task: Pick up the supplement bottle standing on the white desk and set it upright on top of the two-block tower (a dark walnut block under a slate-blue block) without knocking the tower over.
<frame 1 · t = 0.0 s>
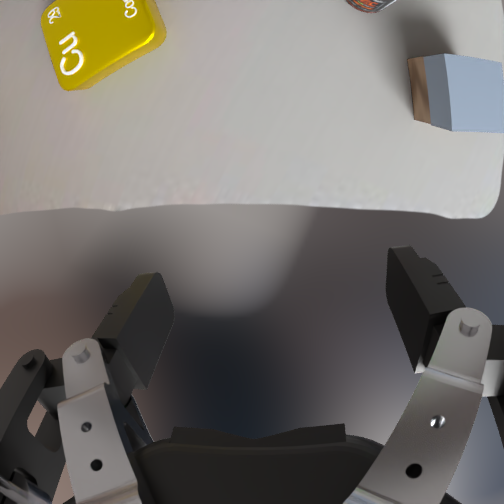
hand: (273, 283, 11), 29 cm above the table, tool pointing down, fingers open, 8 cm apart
tower base block: (437, 90, 30), on the table
tower top block: (456, 92, 26), point 5 cm above the table
element tile: (107, 25, 30), on the table
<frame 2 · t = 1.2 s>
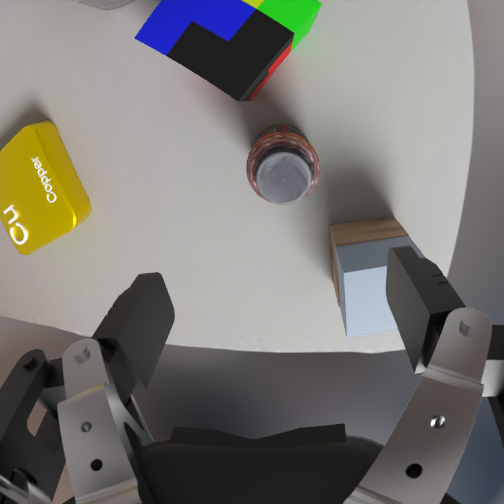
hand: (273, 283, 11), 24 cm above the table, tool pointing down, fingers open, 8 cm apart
tower base block: (363, 250, 36), on the table, touching tower top block
puzzle toy: (240, 38, 26), on the table
tower top block: (373, 273, 32), point 5 cm above the table, touching tower base block
supplement bottle: (281, 151, 32), on the table
element tile: (41, 185, 36), on the table
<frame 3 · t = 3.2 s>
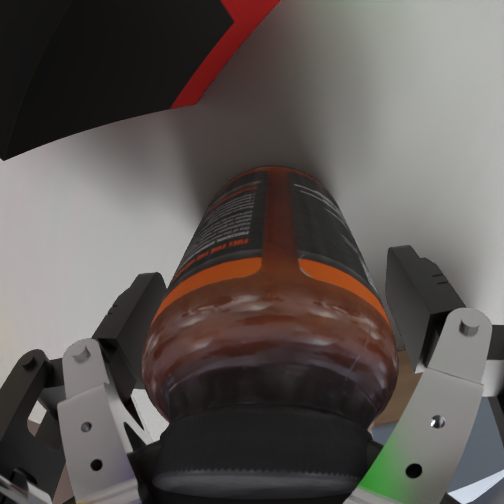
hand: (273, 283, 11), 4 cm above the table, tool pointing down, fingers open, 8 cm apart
tower base block: (409, 382, 19), on the table, touching tower top block
tower top block: (425, 440, 15), point 5 cm above the table, touching tower base block
supplement bottle: (274, 226, 14), on the table
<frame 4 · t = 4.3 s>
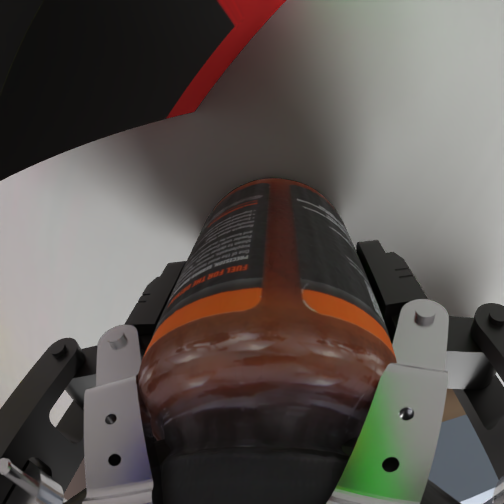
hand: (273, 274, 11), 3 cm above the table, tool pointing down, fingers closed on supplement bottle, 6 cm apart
tower base block: (410, 392, 18), on the table, touching tower top block
tower top block: (425, 451, 14), point 5 cm above the table, touching tower base block
supplement bottle: (275, 239, 14), on the table, touching gripper
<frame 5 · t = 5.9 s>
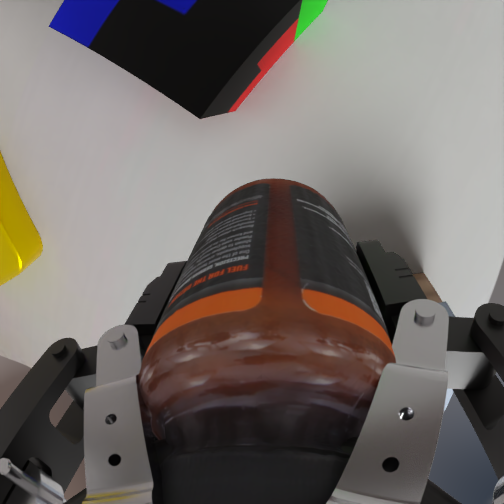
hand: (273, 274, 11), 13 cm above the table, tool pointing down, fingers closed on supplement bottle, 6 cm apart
tower base block: (380, 312, 27), on the table, touching tower top block
puzzle toy: (222, 21, 17), on the table
supplement bottle: (275, 240, 14), point 10 cm above the table, touching gripper
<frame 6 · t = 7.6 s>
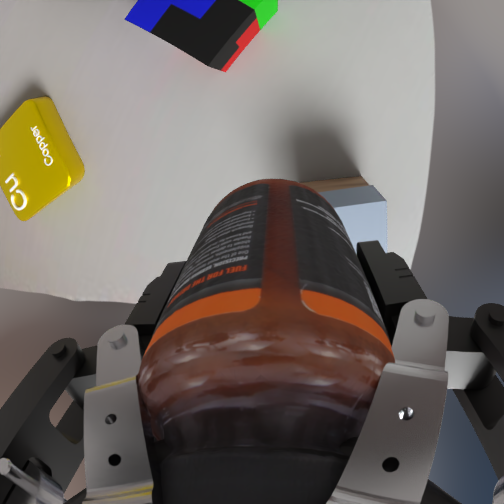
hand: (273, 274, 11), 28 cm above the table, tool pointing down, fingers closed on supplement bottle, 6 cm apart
tower base block: (333, 208, 39), on the table, touching tower top block
puzzle toy: (217, 19, 29), on the table
tower top block: (341, 222, 35), point 5 cm above the table, touching tower base block
supplement bottle: (275, 240, 14), point 25 cm above the table, touching gripper
element tile: (39, 156, 38), on the table
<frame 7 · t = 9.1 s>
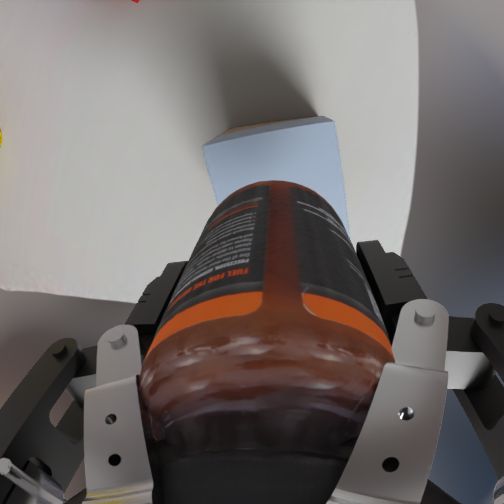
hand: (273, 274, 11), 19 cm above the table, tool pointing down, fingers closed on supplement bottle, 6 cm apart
tower top block: (280, 175, 23), point 5 cm above the table, touching tower base block
supplement bottle: (275, 241, 14), point 16 cm above the table, touching gripper
when the fingers open (14 cm above the table, at t = 11.1 s): supplement bottle drops 1 cm, resting on tower top block.
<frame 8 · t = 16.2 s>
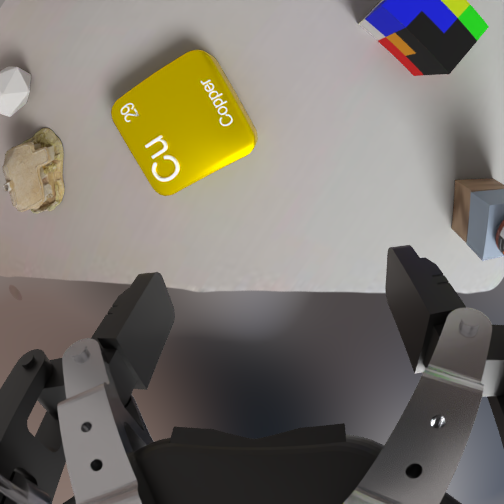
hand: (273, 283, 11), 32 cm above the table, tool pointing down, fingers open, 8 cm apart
die: (24, 88, 36), on the table
tower base block: (472, 203, 39), on the table, touching tower top block
puzzle toy: (406, 28, 29), on the table
ceramic model: (45, 169, 43), on the table
tower top block: (489, 215, 35), point 5 cm above the table, touching supplement bottle, tower base block
element tile: (188, 121, 39), on the table
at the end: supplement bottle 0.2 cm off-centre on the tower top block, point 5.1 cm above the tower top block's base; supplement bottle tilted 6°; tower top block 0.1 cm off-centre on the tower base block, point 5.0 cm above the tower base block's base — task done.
